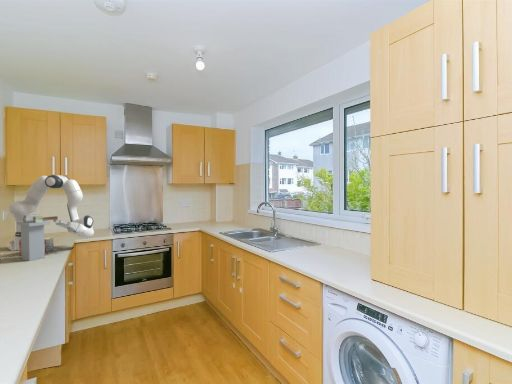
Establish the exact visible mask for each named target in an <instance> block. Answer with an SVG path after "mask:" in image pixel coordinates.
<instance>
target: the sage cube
mask: <svg viewBox="0 0 512 384" xmlns="http://www.w3.org/2000/svg"><path fill="white" fill-rule="evenodd" d="M42 218H43V216H42V215H40V216H35V217H33V222H34V223H39V222H43V219H42Z"/></svg>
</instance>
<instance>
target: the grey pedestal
mask: <svg viewBox="0 0 512 384" xmlns="http://www.w3.org/2000/svg"><path fill="white" fill-rule="evenodd" d="M17 225H21V255H20V257H21V260H24V261H27V262H28V261H29V262H32V261H36V260H42V259H45V256H46V255H45V252H46V251H45V245H44V238H45V226H46V225H50V220H47V221H43V222H39V223H34V222H29V223H25V222H23V221H20V222H17Z"/></svg>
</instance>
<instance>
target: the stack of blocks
mask: <svg viewBox="0 0 512 384" xmlns="http://www.w3.org/2000/svg"><path fill="white" fill-rule="evenodd" d="M44 245H45V252H47V251H52V250H54V249H55V248H54V238H53V237H44ZM18 251H19V256H21V239H19V250H18Z"/></svg>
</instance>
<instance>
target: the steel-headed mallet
mask: <svg viewBox="0 0 512 384" xmlns="http://www.w3.org/2000/svg"><path fill="white" fill-rule="evenodd" d="M29 214H30V215H23V222H25V223H29V222H33V217H35V216H41V214H39V213H34V214H33V213H29ZM42 219H43V221H53V220H59V217H58V216H57V215H56V216H55V215H54V216H45V217H43V216H42Z"/></svg>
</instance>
